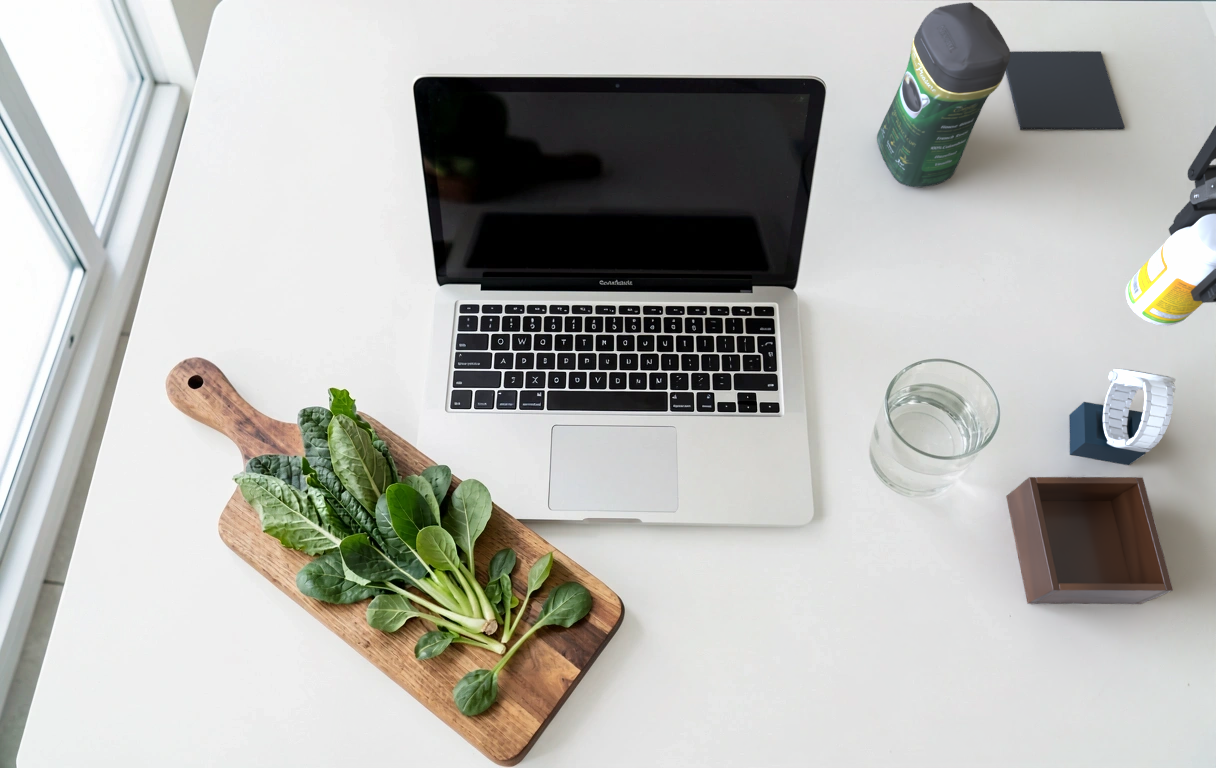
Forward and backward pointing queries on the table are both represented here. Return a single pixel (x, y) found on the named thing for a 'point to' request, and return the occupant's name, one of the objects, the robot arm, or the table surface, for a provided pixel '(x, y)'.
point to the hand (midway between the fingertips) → (1192, 264)
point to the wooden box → (1087, 541)
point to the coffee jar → (942, 94)
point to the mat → (1062, 91)
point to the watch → (1123, 418)
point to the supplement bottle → (1174, 274)
